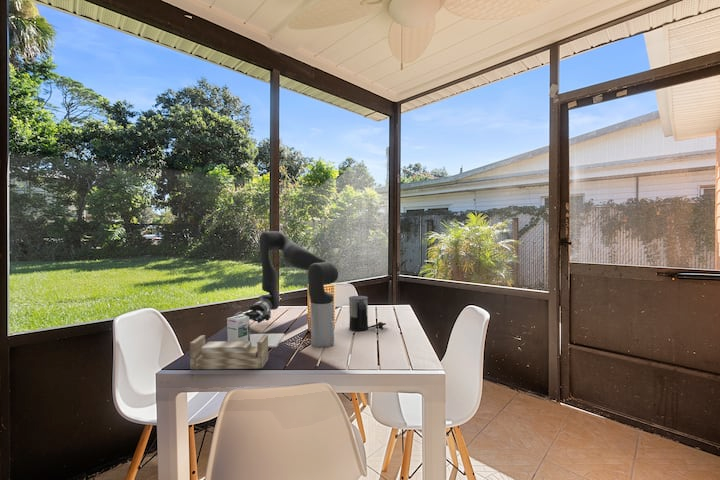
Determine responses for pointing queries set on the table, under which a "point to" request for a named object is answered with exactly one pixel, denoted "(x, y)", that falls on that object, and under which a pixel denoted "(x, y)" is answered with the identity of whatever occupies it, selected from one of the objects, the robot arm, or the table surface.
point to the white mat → (272, 339)
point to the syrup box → (238, 328)
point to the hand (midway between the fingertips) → (247, 320)
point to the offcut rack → (228, 354)
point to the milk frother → (359, 314)
